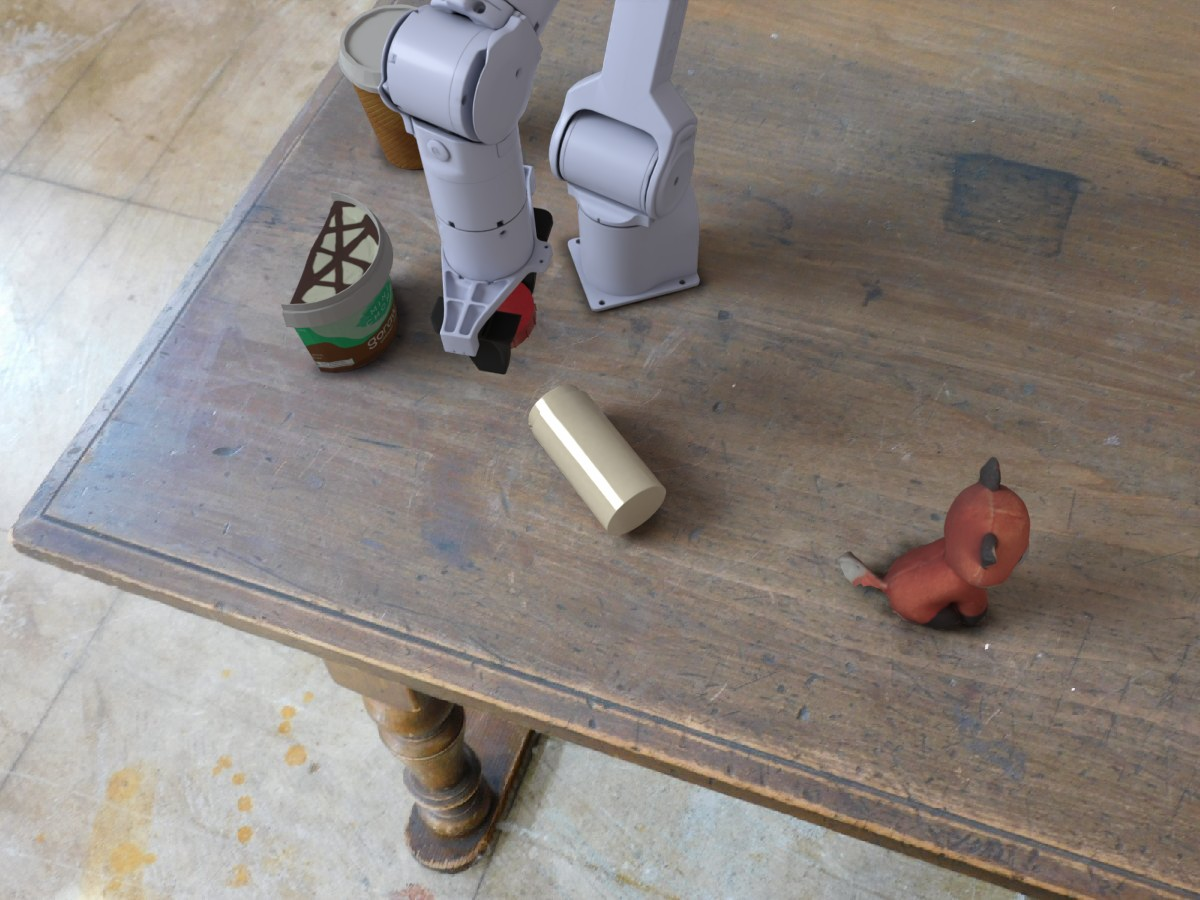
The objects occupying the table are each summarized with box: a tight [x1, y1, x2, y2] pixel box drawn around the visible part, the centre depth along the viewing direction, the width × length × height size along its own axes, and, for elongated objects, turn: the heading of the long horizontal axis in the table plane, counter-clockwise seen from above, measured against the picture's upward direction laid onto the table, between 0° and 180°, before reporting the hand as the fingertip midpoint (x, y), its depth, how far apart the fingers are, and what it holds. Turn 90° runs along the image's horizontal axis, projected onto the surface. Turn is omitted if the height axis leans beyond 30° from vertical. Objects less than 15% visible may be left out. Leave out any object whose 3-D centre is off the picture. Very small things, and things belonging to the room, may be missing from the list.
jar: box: [527, 383, 667, 537], centre depth 79 cm, size 5×5×11 cm
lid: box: [497, 282, 538, 350], centre depth 75 cm, size 6×6×1 cm
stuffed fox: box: [837, 456, 1031, 631], centre depth 71 cm, size 8×11×12 cm
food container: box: [280, 190, 399, 373], centre depth 85 cm, size 12×6×10 cm, turn 168°
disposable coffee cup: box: [337, 3, 424, 170], centre depth 95 cm, size 10×10×12 cm
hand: (505, 332), depth 76 cm, fingers closed on lid, 6 cm apart
